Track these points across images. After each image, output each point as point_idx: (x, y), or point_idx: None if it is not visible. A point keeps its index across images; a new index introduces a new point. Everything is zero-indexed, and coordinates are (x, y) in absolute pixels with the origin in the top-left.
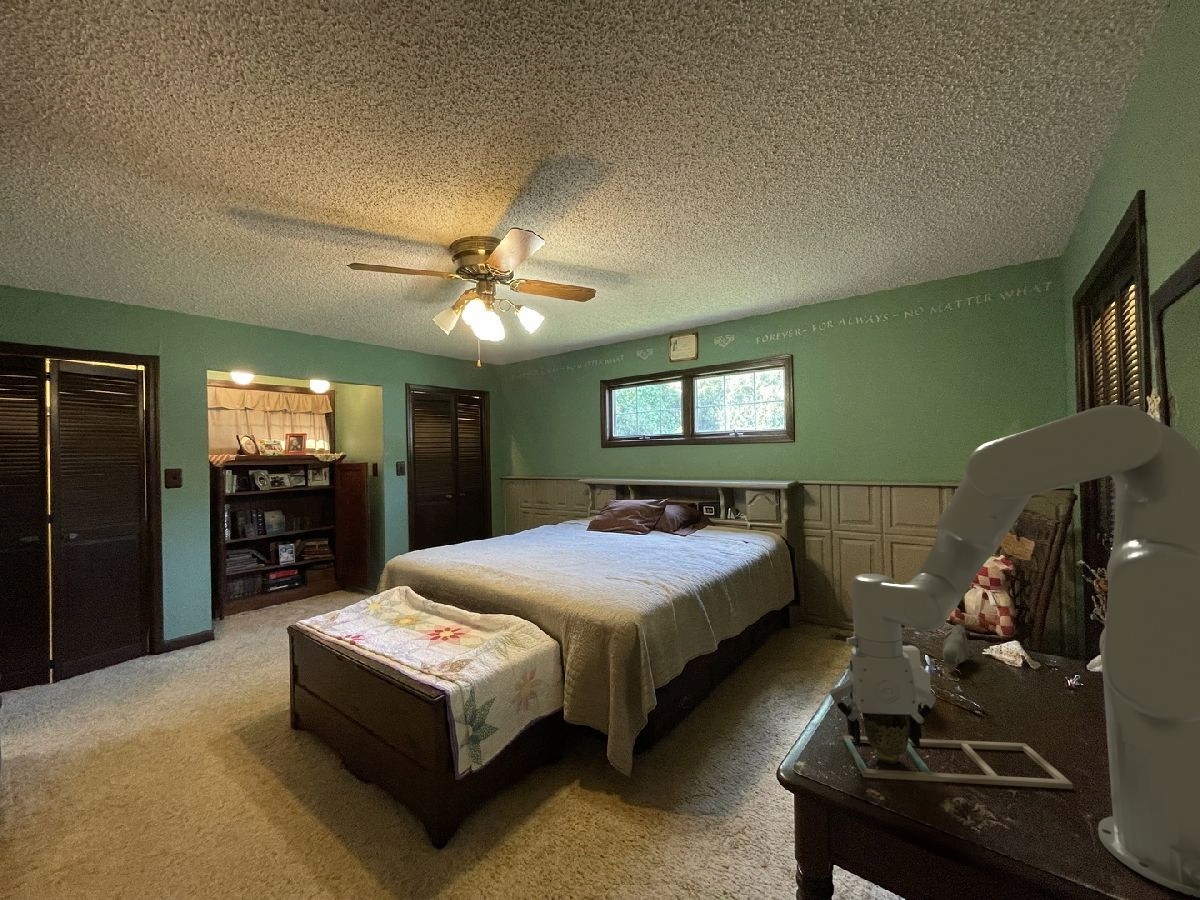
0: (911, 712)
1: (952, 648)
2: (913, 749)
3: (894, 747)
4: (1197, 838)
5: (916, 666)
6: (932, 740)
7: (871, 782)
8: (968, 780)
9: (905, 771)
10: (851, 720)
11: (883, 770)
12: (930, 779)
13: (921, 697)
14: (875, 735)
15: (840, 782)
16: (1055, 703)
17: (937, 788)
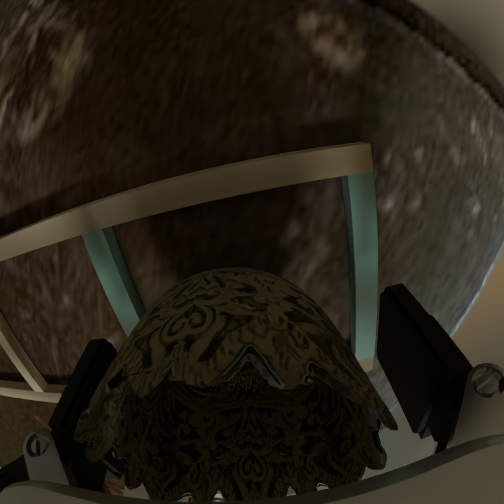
0: (24, 494)
1: None
2: None
3: (205, 281)
4: None
5: None
6: None
7: (335, 112)
8: (2, 237)
9: (176, 206)
10: (483, 363)
11: (277, 181)
12: (92, 202)
13: (139, 495)
14: (325, 324)
15: (441, 96)
16: (6, 455)
17: (78, 160)
